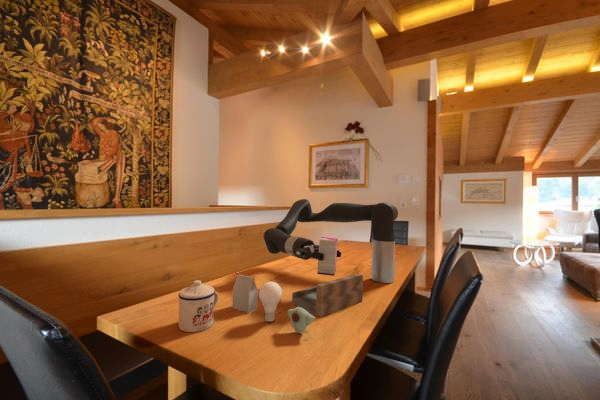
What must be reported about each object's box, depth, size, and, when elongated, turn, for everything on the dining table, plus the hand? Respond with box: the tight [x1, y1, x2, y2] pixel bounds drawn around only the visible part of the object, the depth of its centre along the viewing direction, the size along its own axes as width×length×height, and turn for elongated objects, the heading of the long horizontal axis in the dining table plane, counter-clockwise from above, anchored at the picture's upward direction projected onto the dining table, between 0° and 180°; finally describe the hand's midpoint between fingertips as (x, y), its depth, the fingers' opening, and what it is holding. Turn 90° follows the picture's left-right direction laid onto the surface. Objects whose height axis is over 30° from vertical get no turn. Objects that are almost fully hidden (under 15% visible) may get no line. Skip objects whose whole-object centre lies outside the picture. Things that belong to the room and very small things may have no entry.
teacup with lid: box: [177, 279, 219, 333], centre depth 73 cm, size 12×9×12 cm
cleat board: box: [291, 273, 364, 318], centre depth 90 cm, size 20×13×9 cm, turn 131°
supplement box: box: [316, 236, 339, 277], centre depth 90 cm, size 6×6×12 cm
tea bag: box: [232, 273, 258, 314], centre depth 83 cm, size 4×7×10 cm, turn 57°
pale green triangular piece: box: [287, 306, 317, 334], centre depth 69 cm, size 8×4×7 cm, turn 56°
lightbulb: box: [258, 281, 283, 323], centre depth 75 cm, size 6×6×11 cm
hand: (332, 255), depth 88 cm, fingers closed on supplement box, 8 cm apart
